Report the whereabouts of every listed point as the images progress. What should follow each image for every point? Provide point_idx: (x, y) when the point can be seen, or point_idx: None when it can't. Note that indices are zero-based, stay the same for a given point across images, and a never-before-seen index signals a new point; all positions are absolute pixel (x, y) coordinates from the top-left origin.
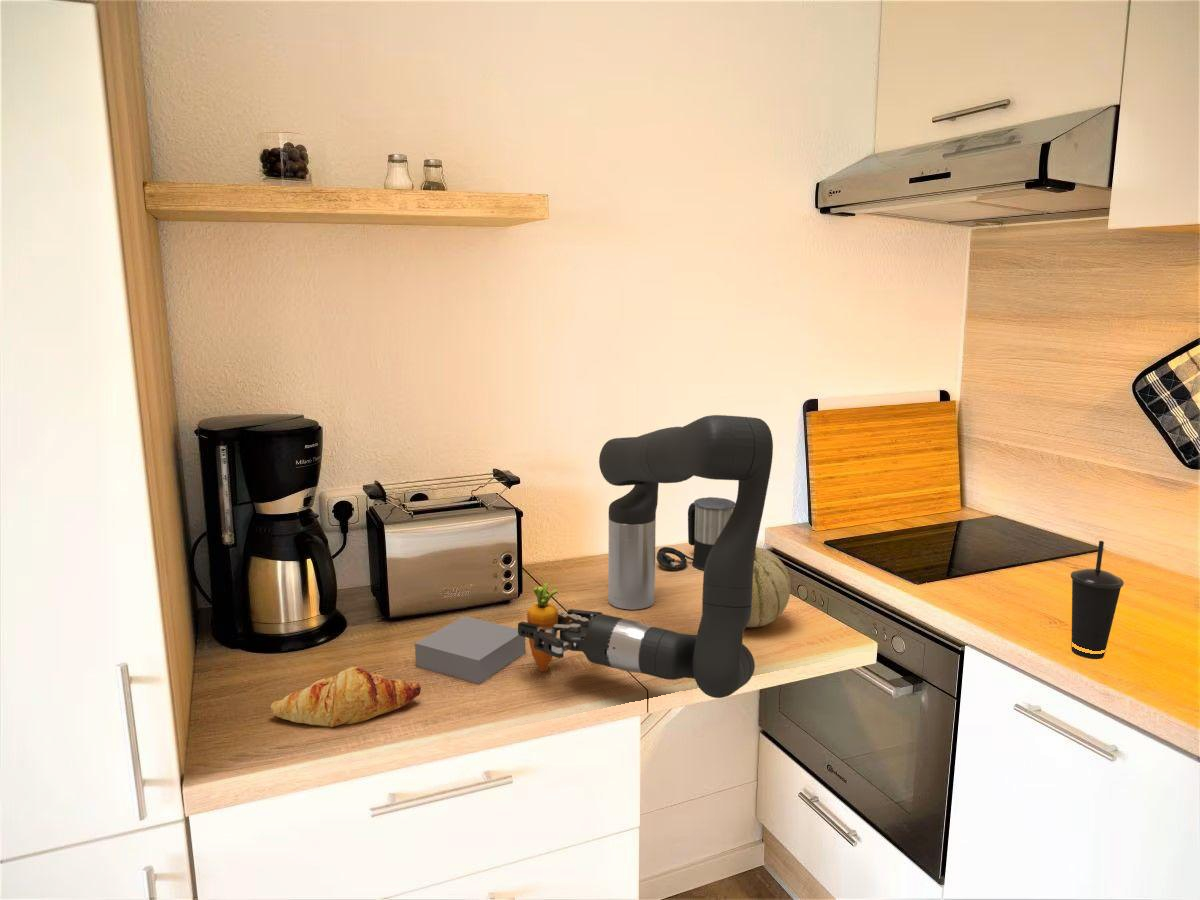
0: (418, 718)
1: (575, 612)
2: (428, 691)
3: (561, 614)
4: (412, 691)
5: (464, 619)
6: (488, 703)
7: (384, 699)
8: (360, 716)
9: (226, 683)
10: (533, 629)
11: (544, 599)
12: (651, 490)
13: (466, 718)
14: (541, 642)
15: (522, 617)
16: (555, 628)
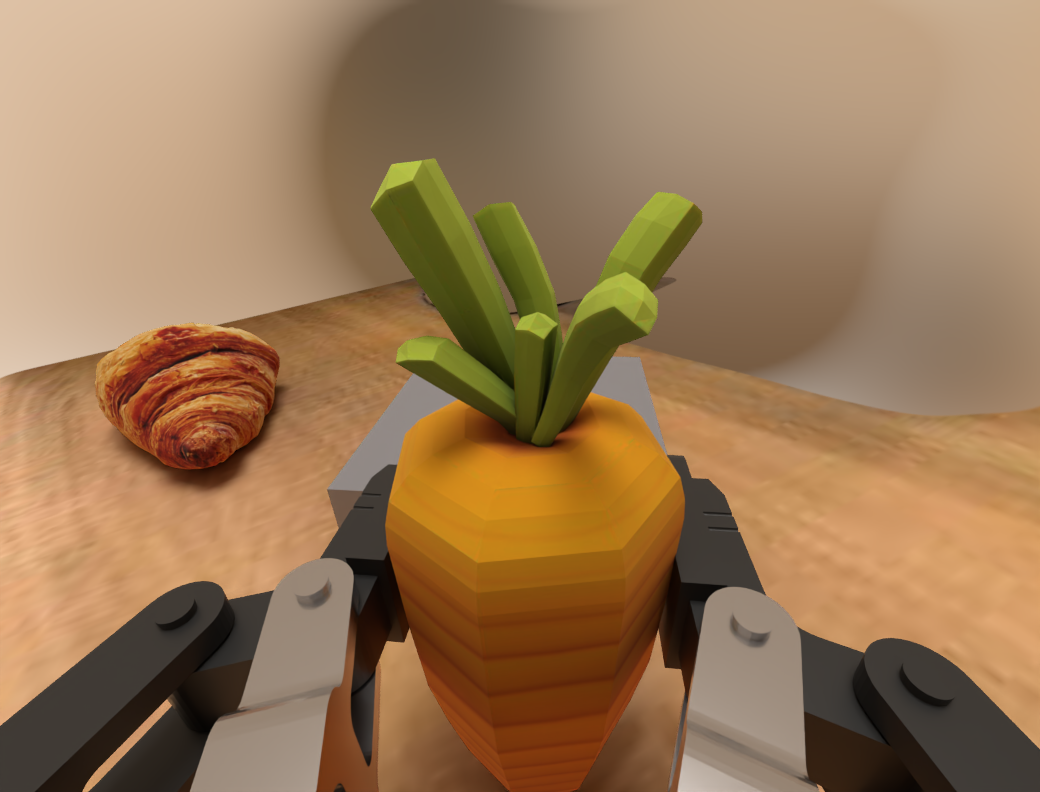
0: (113, 523)
1: (954, 784)
2: (295, 476)
3: (722, 629)
4: (173, 446)
5: (619, 363)
6: None
7: (129, 423)
8: (118, 429)
9: (326, 308)
10: (343, 550)
11: (519, 361)
12: None
13: (44, 651)
14: (186, 718)
15: (882, 461)
16: (205, 781)
